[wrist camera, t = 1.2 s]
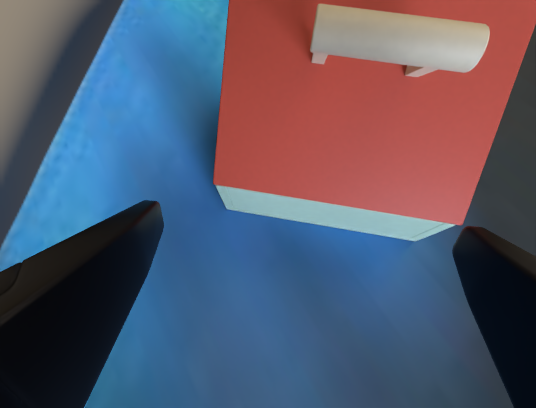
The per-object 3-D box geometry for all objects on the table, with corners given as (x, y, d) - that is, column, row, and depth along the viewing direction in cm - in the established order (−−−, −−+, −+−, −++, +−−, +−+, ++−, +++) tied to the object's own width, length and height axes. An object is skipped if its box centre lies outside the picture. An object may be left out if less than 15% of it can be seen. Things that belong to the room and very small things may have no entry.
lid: (237, -59, 15) (195, -177, 9) (544, -24, 14) (724, -131, 8) (215, 182, 19) (176, 211, 13) (456, 222, 18) (535, 273, 12)
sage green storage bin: (254, 87, 28) (251, 41, 23) (418, 111, 27) (451, 68, 22) (226, 209, 24) (215, 185, 19) (415, 241, 23) (455, 225, 18)
